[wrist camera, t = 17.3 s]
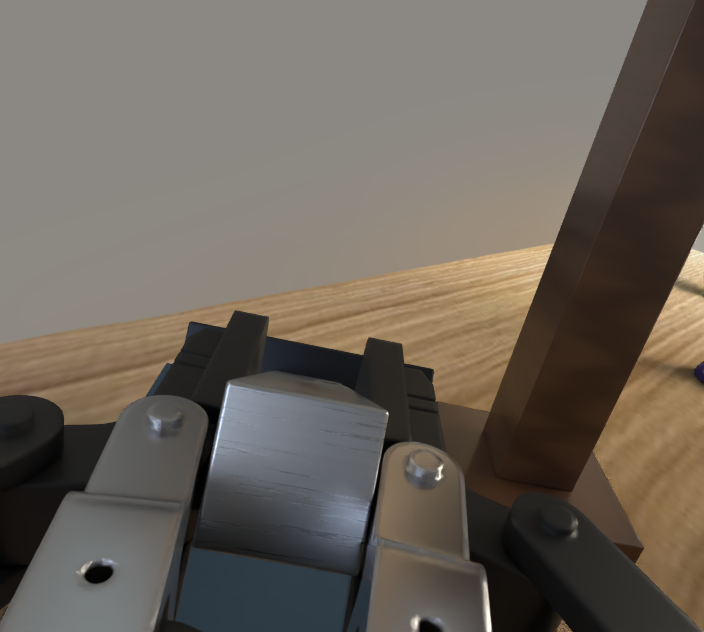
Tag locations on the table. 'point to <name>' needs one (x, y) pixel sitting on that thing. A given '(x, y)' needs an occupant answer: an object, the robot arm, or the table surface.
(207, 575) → the scoop
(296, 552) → the t-shaped mallet
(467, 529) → the robot arm
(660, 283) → the stand
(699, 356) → the table surface
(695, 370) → the toy lamp
